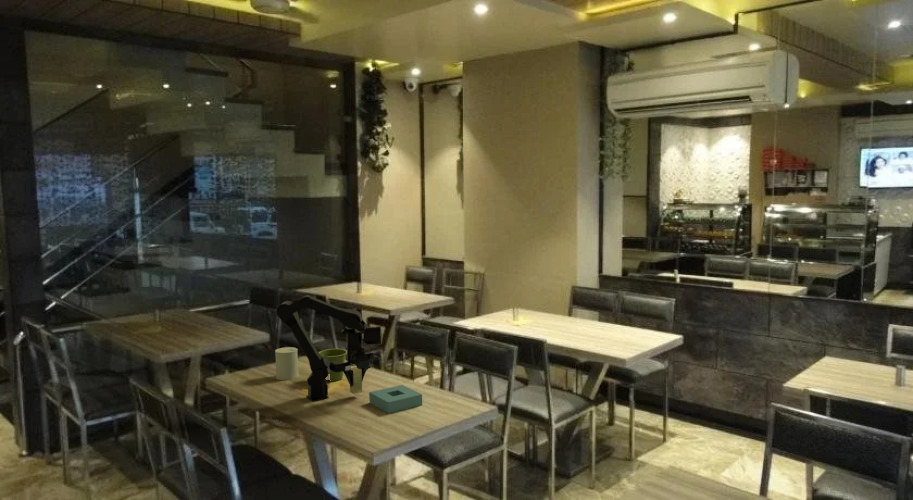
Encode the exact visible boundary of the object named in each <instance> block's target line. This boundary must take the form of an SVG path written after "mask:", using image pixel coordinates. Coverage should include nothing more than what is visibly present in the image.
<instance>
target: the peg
mask: <svg viewBox="0 0 913 500" xmlns="http://www.w3.org/2000/svg"><path fill="white" fill-rule="evenodd" d="M351 370H353V372H352V382H353V384H352V387H351V386H350V385H349V393H351V394H354V395H355V394H360V393H363V381H362V369H358V368H357V366H353V367H351Z"/></svg>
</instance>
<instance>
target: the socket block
mask: <svg viewBox="0 0 913 500" xmlns="http://www.w3.org/2000/svg"><path fill="white" fill-rule="evenodd" d="M368 395H369V403H370V404H371V405H373V406H375V407H377V408H378V409H380V410H382V411H383V412H384V413H385V412H386V413H388V414H393V413H395V412H400V411H404V410H407V409H412V408H413V409H414V408H417V407H420V406H423V394H422V393H420V392H418V391H416V390H414V389H412V388H409V387H408V386H405V385H404V384H400V385H395V386H390V387H386V388H382V389H378V390H372V391H370V392H369V393H368Z"/></svg>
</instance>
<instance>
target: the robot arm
mask: <svg viewBox="0 0 913 500" xmlns="http://www.w3.org/2000/svg"><path fill="white" fill-rule="evenodd" d="M306 308H308V309H310V310H313V311H315V312H317V313H320V314H322V315H325V316H328V317H331V318H333V319H336V321H339V322H340V323H341V324H342V325H344V326H345V327H344V329H342V330H341V331H340V332H341V333H340V334H341V335H346V346H345V349H344V350H346V351H347V354H346V357H345V362H344V363H343V362H341V361H334V362H330V361H329V360H328V359H327V356H326V354H325V355H324V356H322V355H320V354H319V351H318V349H317V348H316V347H315V345H314V343H313V341H312V340H311V338H310V336H309V334H308V332H307V331H306V330H305V327H304V326H303V324H302V322H301V321H300V316H299V313H298V312H299V311H301V310H304V309H306ZM275 313H276V316H277V317H278V318H279V320H280V321H281V322H283V324H284V325H286V326H287V327H288V329H290V331H291V333H292V335H293V336H294V338H295V340H296V341H297V343H298V344H299V346H300V347H301V348H300V349H301V350H302V351H303V353H304V355H305V357H306V358H307V359H308V363H309V368H310V371H311V373H310V375H309V376H308V378H307V379H306V382H307V395H306V397H305V398H307V399H309V400H310V401H312V402H315V401H320V400H325V399H329V398H330V397H329V396H328V395H329V390H328V384H327V380H325V378H326V377H327V376H328V374H329V372H330V370H332V371H334V372H342V371H343V375H345V378H346V380H347V382H348V384H349V387H350V386H351V387H352V384H353V382H352V372H353V370H351V368H352V367H357V368H358V369H362V382H363V380H364V378H365V375H366V374H367V371H368V370H369V369H371V367H372V366H371V365H373V366H378V365H381V358H380V357H379V355H376V354H374V352H368V353H365V348H364V347H363V343H365V344H366V345H368V346H369V345H372V346H373V345H383V333H382V326H381V325H377V326H368V324H367V323H366V322H365V321H364V319H363V316H362V315H363V314H361V313H362V312H360V311H358V310H355V309H350V308H342V307H338V306H336V305H334V304H331V303H330V302H329V303H328V302H326V301H323V300H321V299H319V298H316V297H313V296H312V295H310V294H307V295H304V296H302V297H300V298H297V299H294V300H292V301H291V300H286V301H285V300H284V301H283V302H282V303H280V304H279V305H278V306H277V308H276V312H275Z"/></svg>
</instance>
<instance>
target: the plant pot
mask: <svg viewBox="0 0 913 500" xmlns="http://www.w3.org/2000/svg"><path fill="white" fill-rule="evenodd" d="M318 353H319V354H320V355H322V356H324V355H325V354H326V356H327V359H328V360H329V361H330V362H334V361H341V362H343V363H344V362H346V358H347V350H346V349H343V348H328V349H324V350H323V349H322V350H320V351H318ZM329 374H330V380H331V381H330V382H338V381H340V380H342V379H343V376H344V372H343V371H342V372H334V371H332V370H330V372H329Z"/></svg>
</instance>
